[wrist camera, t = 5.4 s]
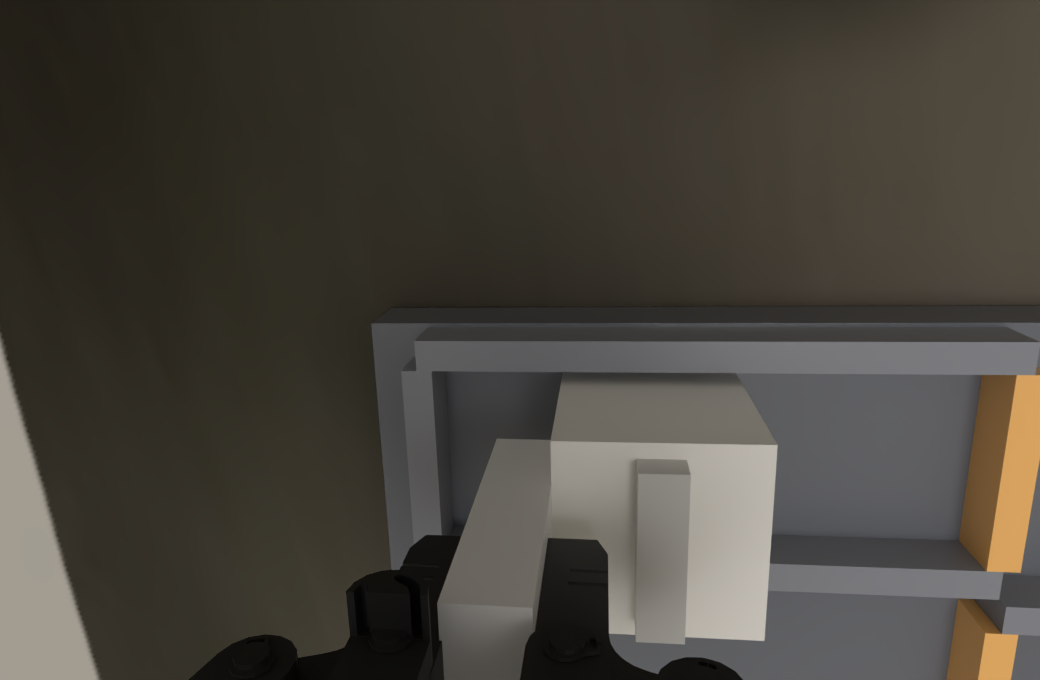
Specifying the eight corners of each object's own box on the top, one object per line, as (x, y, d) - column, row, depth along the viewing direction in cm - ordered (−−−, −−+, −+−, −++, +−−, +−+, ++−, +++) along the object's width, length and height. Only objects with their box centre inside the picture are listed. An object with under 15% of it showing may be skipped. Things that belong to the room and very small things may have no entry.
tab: (563, 368, 20) (547, 455, 14) (734, 370, 19) (785, 459, 14) (565, 518, 21) (551, 652, 15) (726, 523, 20) (771, 663, 15)
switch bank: (391, 307, 22) (353, 337, 19) (1673, 303, 18) (1915, 339, 15) (420, 696, 26) (393, 780, 22) (1496, 760, 22) (1659, 872, 18)
